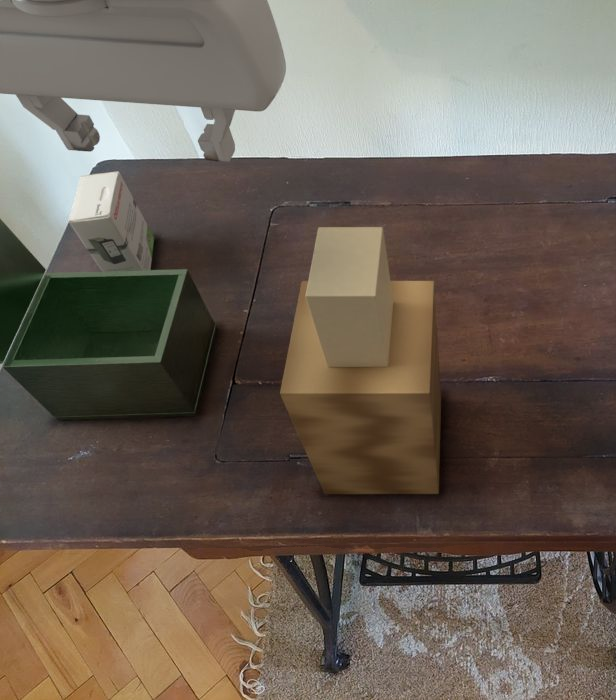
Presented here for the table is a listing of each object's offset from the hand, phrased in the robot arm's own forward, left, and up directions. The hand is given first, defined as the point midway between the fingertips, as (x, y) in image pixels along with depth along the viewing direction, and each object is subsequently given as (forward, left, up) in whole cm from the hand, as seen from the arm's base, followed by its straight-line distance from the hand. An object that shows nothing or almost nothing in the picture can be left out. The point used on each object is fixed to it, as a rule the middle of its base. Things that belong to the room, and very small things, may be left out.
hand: (153, 150), depth 43 cm
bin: (-6, +18, -37) cm, 41 cm away
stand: (+5, -11, -37) cm, 39 cm away
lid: (-11, +24, -17) cm, 32 cm away
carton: (+5, -11, -17) cm, 21 cm away
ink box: (+4, +34, -37) cm, 50 cm away
